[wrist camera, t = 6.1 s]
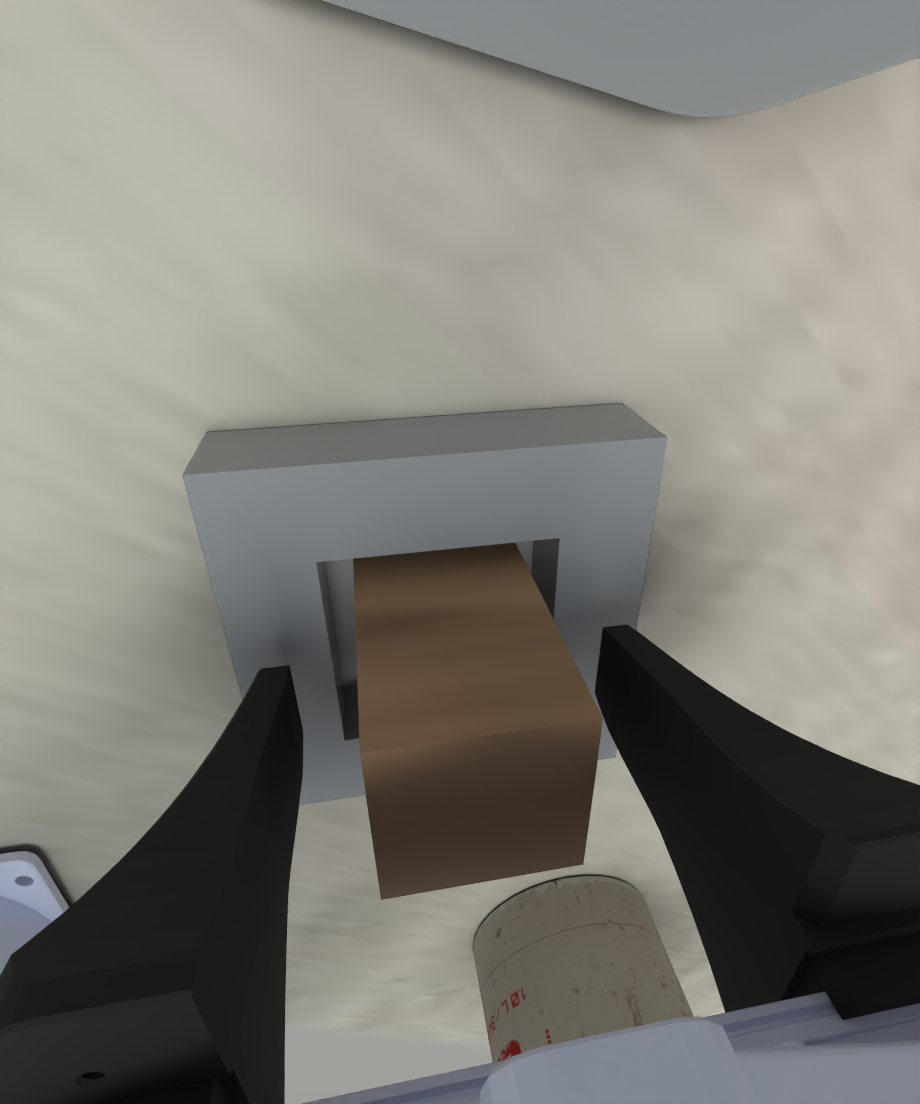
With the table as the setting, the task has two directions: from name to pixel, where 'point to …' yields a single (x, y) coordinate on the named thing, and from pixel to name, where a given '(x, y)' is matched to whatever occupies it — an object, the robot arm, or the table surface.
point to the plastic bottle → (677, 44)
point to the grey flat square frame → (415, 538)
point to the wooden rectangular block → (468, 721)
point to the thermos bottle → (572, 965)
